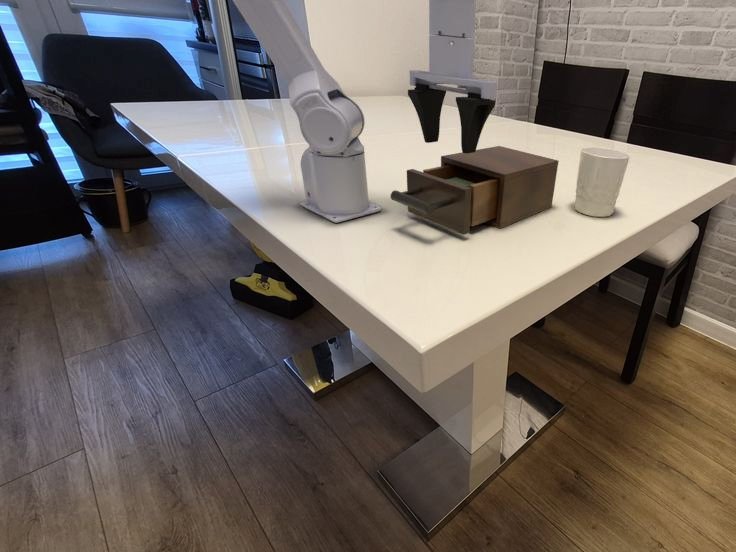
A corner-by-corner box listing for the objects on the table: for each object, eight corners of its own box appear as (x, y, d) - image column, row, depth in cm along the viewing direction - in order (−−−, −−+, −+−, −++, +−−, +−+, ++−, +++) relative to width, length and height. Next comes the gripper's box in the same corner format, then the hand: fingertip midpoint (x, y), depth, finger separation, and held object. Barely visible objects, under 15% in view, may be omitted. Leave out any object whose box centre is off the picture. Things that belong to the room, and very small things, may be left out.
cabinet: (500, 228, 60) (504, 174, 56) (440, 206, 67) (440, 156, 62) (551, 207, 70) (558, 160, 66) (495, 189, 77) (499, 145, 73)
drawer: (438, 244, 51) (438, 197, 48) (381, 219, 57) (379, 175, 54) (521, 212, 64) (525, 173, 61) (468, 194, 70) (469, 157, 67)
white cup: (624, 213, 71) (639, 155, 66) (599, 222, 66) (612, 160, 61) (588, 200, 76) (598, 145, 71) (561, 207, 71) (571, 149, 66)
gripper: (515, 43, 51) (505, 153, 57) (435, 36, 58) (435, 135, 65) (478, 38, 46) (472, 160, 52) (396, 32, 53) (400, 139, 60)
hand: (449, 147), depth 58 cm, fingers open, 7 cm apart
